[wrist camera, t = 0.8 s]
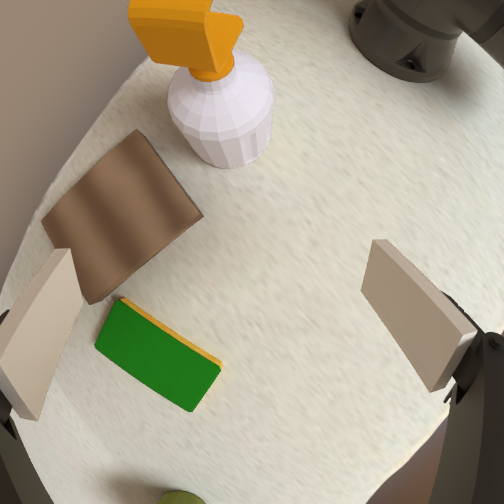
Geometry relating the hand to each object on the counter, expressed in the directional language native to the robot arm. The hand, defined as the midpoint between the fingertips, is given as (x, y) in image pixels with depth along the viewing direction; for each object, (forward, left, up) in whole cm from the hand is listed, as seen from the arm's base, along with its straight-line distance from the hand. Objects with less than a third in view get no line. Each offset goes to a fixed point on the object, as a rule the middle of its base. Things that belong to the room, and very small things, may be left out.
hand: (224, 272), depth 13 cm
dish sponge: (+15, +3, -21) cm, 26 cm away
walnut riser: (+9, -12, -21) cm, 26 cm away
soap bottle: (-7, -12, -21) cm, 25 cm away
